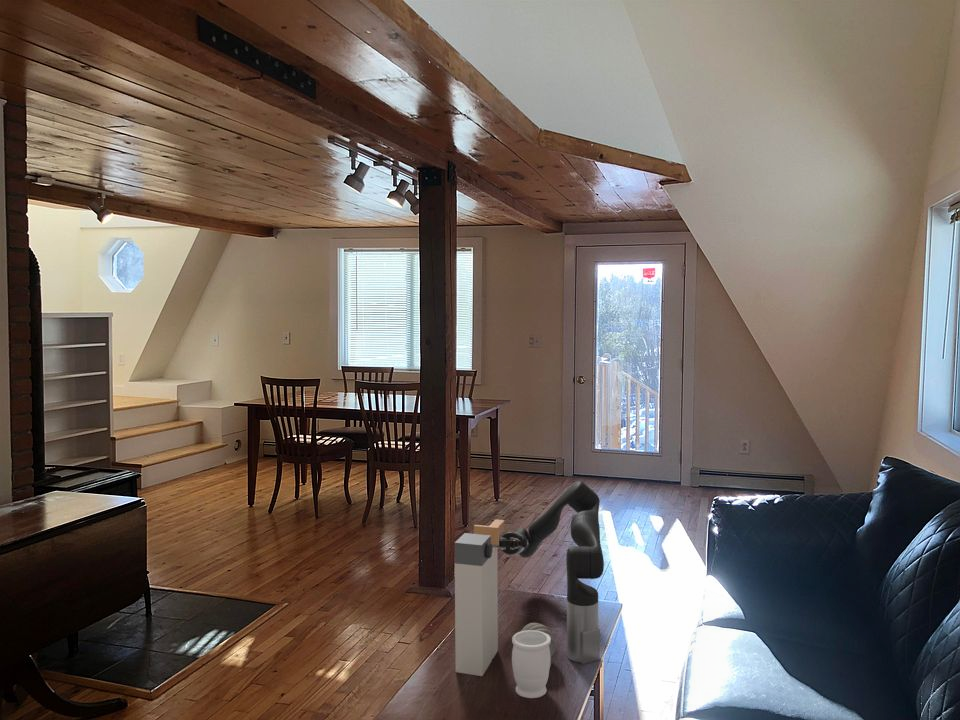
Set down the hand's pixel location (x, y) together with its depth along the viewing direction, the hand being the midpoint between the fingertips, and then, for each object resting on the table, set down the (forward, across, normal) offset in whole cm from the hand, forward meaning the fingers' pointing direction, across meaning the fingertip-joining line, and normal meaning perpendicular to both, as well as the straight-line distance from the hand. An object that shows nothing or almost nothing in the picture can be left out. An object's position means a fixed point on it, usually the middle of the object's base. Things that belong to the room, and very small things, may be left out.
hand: (501, 543), depth 253 cm
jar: (+32, +16, +39) cm, 53 cm away
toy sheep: (+16, +14, +34) cm, 40 cm away
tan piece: (+13, +1, -2) cm, 14 cm away
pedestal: (+20, -3, +33) cm, 39 cm away
